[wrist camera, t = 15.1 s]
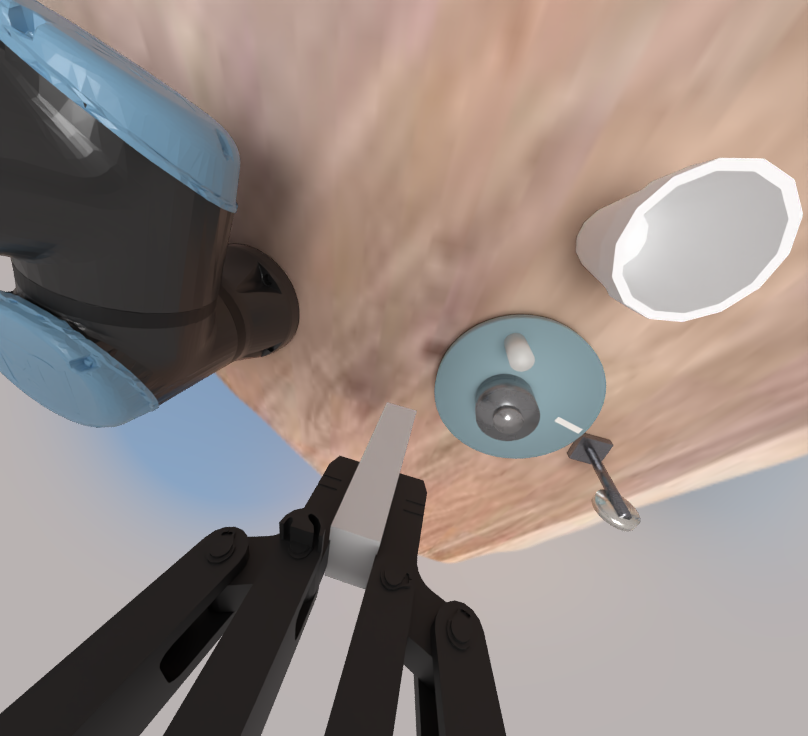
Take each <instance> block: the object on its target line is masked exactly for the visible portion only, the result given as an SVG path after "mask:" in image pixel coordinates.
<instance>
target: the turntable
mask: <svg viewBox="0 0 808 736" xmlns="http://www.w3.org/2000/svg"><path fill="white" fill-rule="evenodd" d="M498 374H512V375H516V376H518V377H520V378H522V379H524V380H525V381H526V382H527V383H528V384H529V385H530V387H531V389H532V391H533V394H534V397H535V399H536V402H537V405H538V407H539V410H540V421H539V424H538V426H537V427H536V429H535V430H534V431H533V432H532V433H531V434H529V435H528V436H526V437H524V438H522V439H519V440H515V441H500V440H496V439H493V438H491V437H489V436H487V435H486V434H485V433H483V432H482V431H481V429H480V428H479V427H478V425H477V422H476V415H475V393H476V390H477V388H478V387H479V385H480V384H481V383H482V382H483V381H484V380H486V379H487V378H489V377H491V376H494V375H498ZM605 394H606V379H605V373H604V369H603V366H602V364H601V362H600V360H599V358H598V356H597V354H596V353H595V352H594V350H593V349H592V348H591V346H590V345H589V344H588V343H587V342H586V341H585V340H584V339H583V338H582V337H581V336H579V335H578V334H577V333H576V332H575V331H573V330H572V329H570V328H569V327H568V326H566V325H564V324H562V323H560V322H558V321H555V320H552V319H549V318H546V317H541V316H536V315H524V314H521V315H508V316H502V317H497V318H494V319H491V320H487V321H485V322H483V323H480V324H478V325H476V326H475V327H473V328H471V329H469V330H468V331H467V332H465V333H464V334H463V335H461V336H460V337H459V338H458V339H457V340H456V341H455V342H454V343H453V344H452V345H451V346H450V348H449V349H448V350H447V352H446V353H445V355H444V357H443V359H442V361H441V363H440V366H439V369H438V373H437V377H436V382H435V402H436V406H437V410H438V412H439V415H440V417H441V419H442V421H443V423H444V424H445V426H446V427H447V428H448V430H449V431H450V432H451V433H452V434H453V435H454V436H455V437H456V438H458V439H459V440H460V441H461V442H463V443H464V444H466V445H467V446H469V447H471V448H473V449H475V450H477V451H479V452H482V453H485V454H488V455H492V456H496V457H502V458H515V459H517V458H530V457H537V456H541V455H545V454H548V453H551V452H554V451H557V450H559V449H561V448H563V447H565V446H567V445H569V444H570V443H572V442H574V441H575V440H576V439H578V438H579V437H580V436H581V435H583V434H584V433H585V432H586V431H587V430H588V429H589V427H590V426H591V425H592V424H593V422H594V421H595V420H596V418H597V416H598V415H599V413H600V411H601V408H602V406H603V403H604V399H605Z"/></svg>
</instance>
